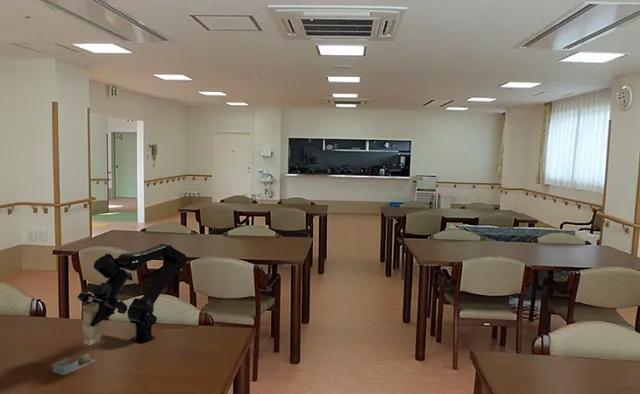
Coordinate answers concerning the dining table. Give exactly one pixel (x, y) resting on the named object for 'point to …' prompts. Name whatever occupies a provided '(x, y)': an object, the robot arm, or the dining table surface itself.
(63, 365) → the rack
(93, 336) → the tan wooden block
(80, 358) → the offcut top
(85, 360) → the offcut low
